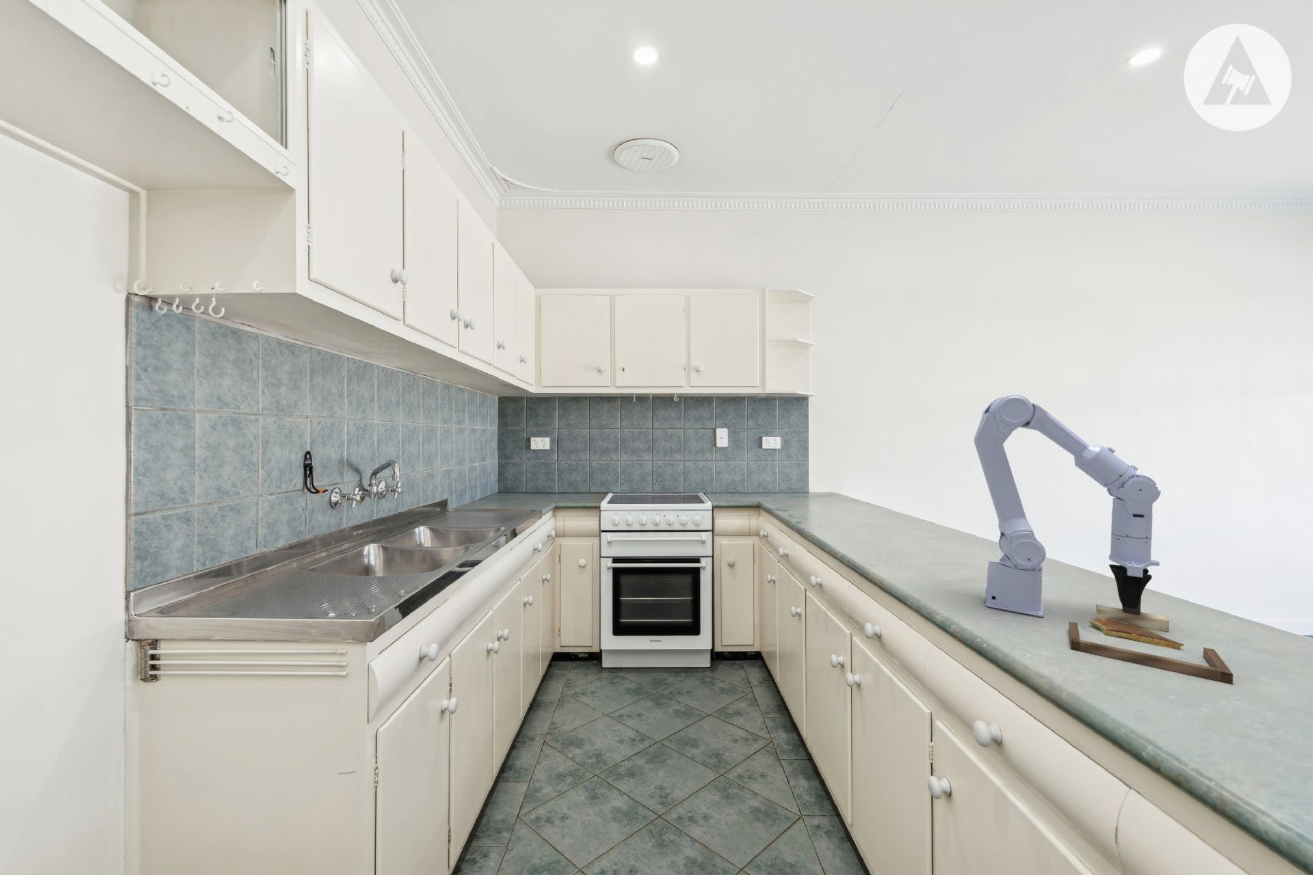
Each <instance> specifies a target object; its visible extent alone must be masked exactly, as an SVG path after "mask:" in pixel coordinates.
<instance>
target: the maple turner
mask: <svg viewBox="0 0 1313 875" xmlns="http://www.w3.org/2000/svg"><path fill="white" fill-rule="evenodd" d="M1141 606H1142V598H1141V599H1140V602H1139V605H1138V607H1137V609H1134V608H1128V607H1123V606H1122V605H1121V608H1120V607H1119V608H1118V607H1111V606H1108V605H1107V606H1106V605H1100V604H1096V605H1095V616H1096V619H1112V620H1116V621H1120V622H1127V623H1129V624H1132V625H1135V626H1138V627H1140V628H1144V629H1145V628H1146V629H1151V630H1157V631H1162V632H1167V633H1169V630H1170V620H1169V618H1168V617H1167V616H1165V615H1159V614H1153V613H1148V612H1142V610H1141V608H1142V607H1141Z"/></svg>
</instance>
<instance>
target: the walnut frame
mask: <svg viewBox="0 0 1313 875" xmlns="http://www.w3.org/2000/svg"><path fill="white" fill-rule="evenodd" d="M1079 631H1080V630H1079V624H1078V622H1073V621H1069V622H1068V634H1069V644H1070V650H1073V651H1074V650H1075V651H1078V652H1083V653H1088V654H1092V655H1098V656H1101V657H1102V656H1103V657H1106V658H1112V659H1115V660H1119V661H1125V662H1130V663H1133V664H1138V665H1143V666H1148V667H1151V668H1157V669H1161V670H1166V671H1169V672H1170V671H1171V672H1173V673H1174V672H1176V673H1179V674H1185V675H1188V676H1189V675H1190V676H1194V677H1198V678H1203V679H1206V680H1212V681H1216V682H1221V683H1226V684H1231V685H1233V684H1234V683H1233V682H1234V674H1233V672H1232V671H1231V669H1230V668H1229V667H1228V666H1227V664H1226V662H1225V661H1224V660H1223V659H1222V658H1221V656H1220V655H1219V654H1218V653H1217V651H1216V649H1214V648H1209V647H1206V646H1205V647H1204V646H1203V650H1202V657H1203V658H1204V659H1205V661H1206V663H1207V664H1208V665H1202V664H1199V663H1195V662H1190V661H1189V662H1188V661H1185V660H1184V661H1183V660H1179V659H1174V658H1169V657H1165V656H1161V655H1160V656H1159V655H1155V654H1151V653H1145V652H1140V651H1135V650H1130V649H1127V648H1121V647H1116V646H1112V645H1107V644H1102V643H1096V642H1092V641H1088V640H1082V639H1081V637H1080V632H1079Z"/></svg>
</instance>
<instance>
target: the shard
mask: <svg viewBox="0 0 1313 875" xmlns="http://www.w3.org/2000/svg"><path fill="white" fill-rule="evenodd" d="M1089 624H1090V625H1092V627H1094V628H1096V629H1098V630H1100V631H1101V632H1102V633H1103V635H1105V636H1109V637H1115V638H1123V639H1127V640H1130V641H1136V642H1141V643H1145V644H1150V645H1155V646H1159V647H1164V648H1170V649H1175V650H1181V647H1184V645H1185V644H1183V643H1181V642H1178V641H1175V640H1173V639H1170V638H1167V637H1165V636H1162V635H1160V634H1158V633H1156V632H1153V631H1150V630H1148V629H1147V628H1146V629H1145V628H1144V627H1139V626H1135V625H1132V624H1129V623H1127V622H1120V621H1116V620H1112V619H1097V618H1096V619H1093V618H1092V619H1090V620H1089Z"/></svg>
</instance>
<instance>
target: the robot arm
mask: <svg viewBox="0 0 1313 875" xmlns="http://www.w3.org/2000/svg"><path fill="white" fill-rule="evenodd" d="M978 424H979V425H978V427H977V430H976V432H975V435H974V439H973V441H974V442H973V443H974V446H975V449H976V453H977V456H978V458H979V462H980V465H981V468H982V471H983V475H984V478H985V480H986V484H987V489H988V490H989V493H990V494H989V495H990V496H991V501H992V503H993V507H994V510H995V514H996V516H997V519H998V525H997V526H998V529H999V533H1000V534H999V538H998V546H999V549H1000V551H1001V552H1002V553H1003V555H1002V556H1001V557H1000V558H999V561H992V560H991V561H988V562H987V563H988V564H987V573H986V574H987V575H986V576H987V578H986V587H985V596H986V603H985V606H986V607H988V608H995V609H997V610H1004V611H1009V612H1015V613H1021V614H1025V615H1031V616H1035V617H1042V618H1043V617H1044V610H1045V609H1044V607H1045V606H1044V605H1045V604H1043V603H1042V592H1043V591H1042V590H1043V565H1042V564H1043V563H1044V561H1045V559H1046V556H1047V553H1046V548H1045V547H1044V545H1043V544H1042V543H1041V542H1040V541H1039V540H1038V539H1037V537H1036V536H1035V533H1034V530H1033V528H1032V526H1031V524H1030V522H1029V521H1028V518H1027V516H1026V513H1025V509H1024V507H1023V504H1022V500H1021V497H1020V494H1019V490H1018V488H1017V484H1016V481H1015V478H1014V475H1013V472H1012V469H1011V465H1010V462H1009V460H1008V456H1007V452H1006V450H1005V445H1004V444H1005V442H1006V441H1007V440H1008V439H1009V437H1010V436H1011V435H1012V433H1013V432H1014V431H1016V430H1018V428H1022V429H1028V430H1034V431H1037V432H1039V433H1040V434H1042V435H1044V437H1046V438H1048V439H1049V440H1051V442H1053V443H1055V444H1056V445H1058V446H1059V447H1061V448H1062V449H1064V450H1065V451H1066V452H1068V453H1069V454H1071V455H1072V456H1073V457H1074V458H1073V459H1074V466H1075V467H1076V468H1078V469H1079V470H1081V471H1082V472H1084V473H1085V474H1086V475H1087V476H1089V477H1090V478H1091V479H1093V480H1094V481H1096V483H1098V484H1099V485H1101V487H1103V488H1106V491H1107V493H1108V495H1109V496H1111V497H1112V509H1111V526H1110V527H1111V528H1110V533H1111V534H1110V553H1109V555H1108V560H1109V561H1111V562H1112V563H1115V564H1108V567H1109V569H1110V571H1111V573H1112V574H1113V576H1114V579H1115V583H1116V589H1117V595H1118V598H1119V601H1120V603H1121V607H1122V606H1123V607H1128V608H1134V609H1137V607H1138V605H1139V602H1140V599H1141V600H1142V596H1143V592H1144V590H1145V588H1146V586H1147V585H1148V583H1150V581H1151V580H1152V578H1153V576H1152V574H1151V573H1150V574H1149V572H1150V571H1149V569H1148V568H1149V567H1151V566H1152V567H1153V566H1155V567H1159V566H1160V562H1159V561H1160V560H1156V559H1152V538H1153V536H1152V534H1153V505H1154V504H1155V502H1156V501H1158V499H1159V498H1160V497H1161V490H1160V489H1159V488H1158V486H1157V483H1156V482H1155V480H1153V479H1152V478H1151V477H1149V476H1147V475H1142V474H1138V473H1137V471H1138V470H1139V468H1138V467H1136V465H1129V464H1128V463H1126V462H1125V461H1124V460H1123V459H1121V458H1120V457H1118V456H1117V455H1116V454H1114V453H1116V450H1115V449H1113V448H1112V447H1111V446H1105V447H1104V446H1103V445H1101V444H1089V443H1087V442H1086V441H1085V440H1084V439H1082V438H1081V437H1080V436H1079V435H1077V434H1076V433H1074V431H1072V430H1071V429H1070V428H1069V427H1067V426H1066V425H1065V424H1063V423H1062V422H1061V421H1059V419H1057V417H1054V416H1053V415H1052V414H1051V413H1050V412H1048V411H1047V410H1045V409H1044V408H1043V407H1042V406H1040V405H1038V404H1037V403H1034V402H1033V403H1032V402H1031V401H1030V399H1029V398H1027V397H1026V396H1023V395H1021V394H1009V395H1006V396H1003V397H998V398H996V399H994V400H993V401H991V402H990V404H989V405H988V406H987V407H986V408H985V409H984V410H983V411H982V414H981V419H980V422H979V423H978Z"/></svg>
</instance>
